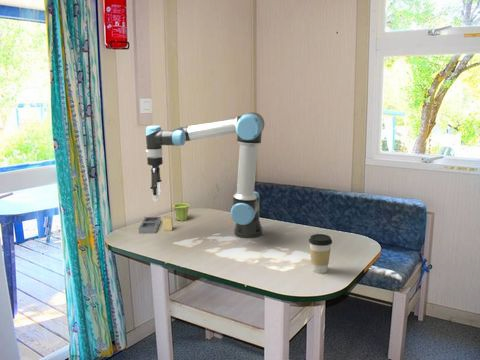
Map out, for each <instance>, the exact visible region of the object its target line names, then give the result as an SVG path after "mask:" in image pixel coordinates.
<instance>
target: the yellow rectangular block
mask: <svg viewBox="0 0 480 360" xmlns="http://www.w3.org/2000/svg"><path fill="white" fill-rule="evenodd" d="M162 222H163V223H162V227H163V231H164V232H170V231H173V228H174V227H173V215H164V216H163V217H162Z"/></svg>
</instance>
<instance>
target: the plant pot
mask: <svg viewBox="0 0 480 360" xmlns="http://www.w3.org/2000/svg"><path fill="white" fill-rule="evenodd" d="M189 207H190V204H188V203H184V202H183V203H175V204H173V209H174V212H175V218H176V221H180V222H182V221H186V220H188V214H189V213H188V212H189Z"/></svg>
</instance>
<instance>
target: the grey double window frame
mask: <svg viewBox="0 0 480 360" xmlns="http://www.w3.org/2000/svg"><path fill="white" fill-rule="evenodd" d="M161 222H162V219H161V216H145V217H144V218H143V219H142V222H141V224H140V225H139V227H138V234H157V232H158V229H159V226H160V225H161Z"/></svg>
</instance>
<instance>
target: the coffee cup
mask: <svg viewBox="0 0 480 360" xmlns="http://www.w3.org/2000/svg"><path fill="white" fill-rule="evenodd" d="M308 243H309V253H310V262H311V269H312V272H313V273H316V274H326V273H327V272H328V266H329V264H330V263H329V261H330V256H331V247H332V244H333V240H332V237H331V236H330V235H328V234H324V233H315V234H311V235H310V237H309V239H308Z"/></svg>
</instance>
